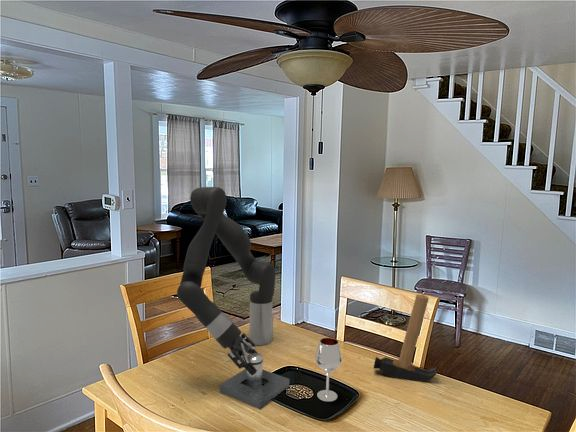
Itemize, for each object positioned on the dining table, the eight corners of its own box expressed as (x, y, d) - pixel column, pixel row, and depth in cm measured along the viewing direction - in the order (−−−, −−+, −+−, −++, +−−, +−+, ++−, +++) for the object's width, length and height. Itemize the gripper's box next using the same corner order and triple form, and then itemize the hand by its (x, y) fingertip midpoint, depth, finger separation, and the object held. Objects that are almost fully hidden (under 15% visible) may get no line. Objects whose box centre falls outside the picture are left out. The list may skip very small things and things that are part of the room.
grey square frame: (250, 372, 145) (250, 365, 145) (289, 386, 136) (289, 378, 136) (219, 392, 132) (219, 384, 131) (259, 409, 123) (260, 401, 123)
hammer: (430, 382, 146) (453, 302, 141) (432, 389, 141) (455, 307, 136) (373, 364, 150) (394, 286, 145) (373, 371, 145) (394, 290, 140)
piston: (253, 383, 138) (253, 351, 136) (265, 388, 135) (266, 355, 134) (243, 390, 133) (243, 357, 132) (255, 395, 130) (256, 361, 129)
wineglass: (323, 405, 126) (325, 349, 124) (309, 392, 133) (311, 338, 131) (345, 399, 129) (347, 344, 127) (330, 386, 137) (332, 334, 135)
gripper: (225, 331, 126) (261, 370, 125) (237, 314, 140) (270, 350, 140) (208, 346, 127) (244, 385, 127) (221, 328, 141) (254, 363, 141)
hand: (257, 366), depth 133 cm, fingers open, 8 cm apart
